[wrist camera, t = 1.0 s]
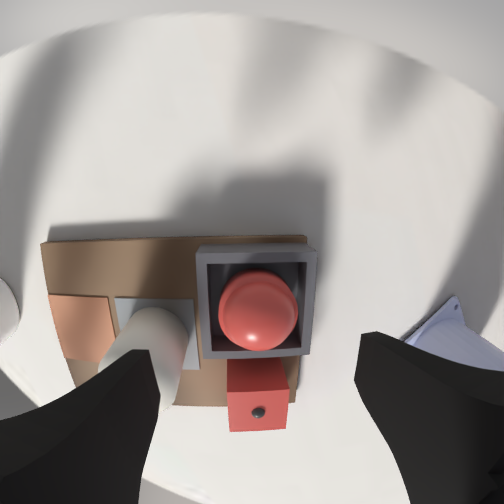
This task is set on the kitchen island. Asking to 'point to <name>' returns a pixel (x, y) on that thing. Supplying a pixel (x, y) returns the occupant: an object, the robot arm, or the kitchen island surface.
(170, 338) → the ivory pawn
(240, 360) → the red block with knob
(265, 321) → the pop dome
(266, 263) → the pop dome base
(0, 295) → the drinking glass
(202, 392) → the game board
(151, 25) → the kitchen island surface
